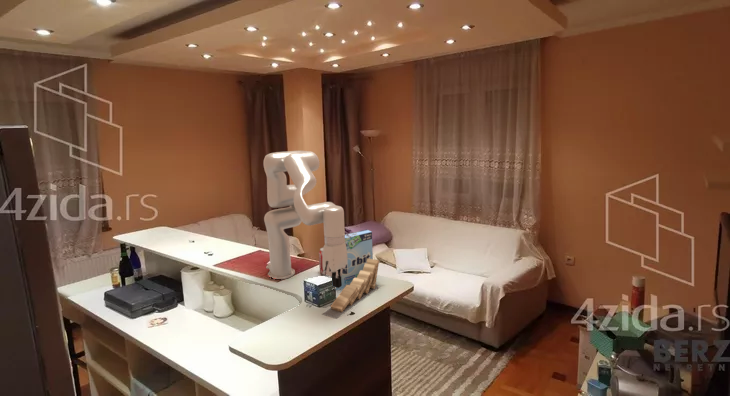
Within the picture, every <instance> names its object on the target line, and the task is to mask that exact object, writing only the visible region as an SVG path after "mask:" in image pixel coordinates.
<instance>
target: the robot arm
mask: <svg viewBox="0 0 730 396" xmlns="http://www.w3.org/2000/svg"><path fill="white" fill-rule="evenodd" d="M320 164H321V163H320V159H319V156H318V155H317V154H316V153H315V152H314V151H310V150H289V151H288V150H287V151H276V152H271V153H268V154H266V155H265V156H264V159H263V168H264V169H263V170H264V172H265V175H266V188H267V189H266V192H267V193H266V195H267V204H268V206H269V207H270V208H274V209H273V210H270V211H267V212H266V213H265V214H264V217H263V221H264V225H265V229H266V233H267V241H268V251H269V252H268V253H269V262H268V263H267V265H266V266H265V268H266V269H268V270H269V272H268V273H267V276H268V275H269V276H270V277H272V278H276V279H281V280H286V279H291V278H292V277H293V276H295V274H296V271H295V269H294V268H292V261H291V260H292V259H291V248H290V247H291V246H290V238H289V235H288V233H286V232H285V230H287V229H290V228H295V227H298V226H300V225H301V223H303V225H306V226H314V225H319V224H323V235H324V236H323V237H324V245H323V247H322V248H323V257H322V265H323V270H324V271H326V270H327V271H326V275H325V276H327V277H330V278H331V277H332V286H333V287H337V288H339V287H341V286H342V281H341V276H342V271H343V269H344V268H345V267H346V265H347V248H346V243H345V234H346V232H345V230H346V228H345V211H344V208H343V207H342V206H340V205H336V204H335V203H334V202H332V201H324V202H319V203H318V202H317V203H313V204H307V203H306V201H305V199H304V196H305V195H306V194H308V193H309V192H310V191H312V190H313V189H314V188H315V187H316V185H317V178H316V177H315V175H314V173H313V172H316V171H318V169H319V168H320ZM285 172H287V173H288V175H289V177H290V179H291V181H292V184H287V180H288V179H287V175H286V173H285ZM277 208H278V209H277ZM334 272H335V273H334Z"/></svg>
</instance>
